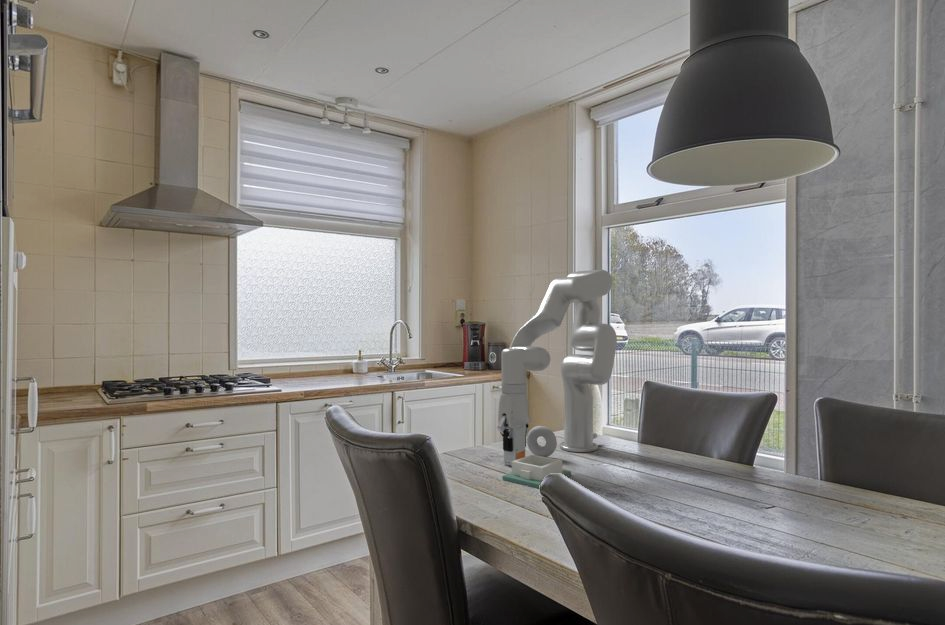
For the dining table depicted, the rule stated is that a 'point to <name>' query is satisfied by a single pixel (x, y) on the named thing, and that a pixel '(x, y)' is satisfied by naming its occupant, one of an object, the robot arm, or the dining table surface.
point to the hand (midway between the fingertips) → (514, 448)
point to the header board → (534, 470)
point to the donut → (549, 438)
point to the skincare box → (516, 445)
